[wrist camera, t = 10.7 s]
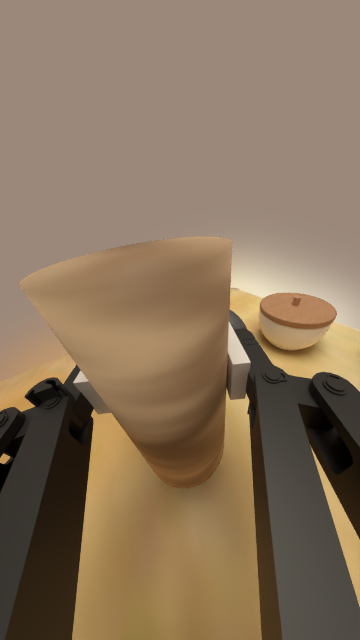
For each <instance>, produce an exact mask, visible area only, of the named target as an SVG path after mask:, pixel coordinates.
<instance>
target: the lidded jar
mask: <svg viewBox="0 0 360 640" xmlns="http://www.w3.org/2000/svg"><path fill="white" fill-rule="evenodd" d="M336 315H337V313H336V310H335V308H334V307H333V306H332V305H331V304H329V303H328V302H326V301H324V300H322V299H320V298H316V297H314V296H310V295H305V294H298V293H277V294H272V295H269V296H267V297H265V298H263V299H262V301H261V303H260V312H259V326H260V329H261V332H262V333H263V335H264V336H265V337H266V339H267V340H268V341H269V342H270V343H271V344H272V345H273V346H275V347H277V348H280V349H283V350H288V351H294V350H299V349H303V348H307V347H309V346H312V345H314V344H315V343H317V342H318V341H319V340H320V339H321V338H322V337H323V336H324V335H325V333H326V332H327V331H328V329H329V327H330V325H331V323H332V322H333V321H334V319H335V318H336Z"/></svg>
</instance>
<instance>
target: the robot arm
mask: <svg viewBox="0 0 360 640" xmlns="http://www.w3.org/2000/svg"><path fill="white" fill-rule="evenodd" d="M226 387H227V390H228V394H229V397H230V400H234V399H244V398H245V396H246V393H247V396H248V398H249V401H250V402H249V407H248V413H247V414H249V418H250V436H251V454H252V471H253V489H254V507H255V524H256V542H257V560H258V578H259V595H260V613H261V631H262V640H360V607H359V604H358V601H357V597H356V594H355V591H354V587H353V584H352V581H351V578H350V574H349V571H348V568H347V565H346V561H345V558H344V555H343V551H342V548H341V545H340V542H339V538H338V535H337V532H336V528H335V525H334V522H333V519H332V515H331V512H330V509H329V506H328V502H327V499H326V496H325V492H324V489H323V486H322V483H321V479H320V476H319V473H318V469H317V466H316V463H315V460H314V456H313V453H312V450H311V447H312V449H313V451H314V453H315V455H316V457H317V459H318V461H319V463H320V464H321V466H322V468H323V470H324V472H325V474H326V476H327V478H328V480H329V482H330V483H331V485H332V487H333V489H334V491H335V493H336V495H337V497H338V499H339V501H340V503H341V504H342V506H343V508H344V510H345V512H346V514H347V516H348V518H349V520H350V522H351V524H352V525H353V527H354V529H355V531H356V533H357V535H358V537H359V539H360V392H359V391H358V390H357V389H356V388H355V387H354V386H353V385H352V384H351V383H350V382H349V381H347V380H346V379H344V378H342V377H340V376H338V375H335V374H332V373H327V372H320V373H316V374H315V375H314V376H313V378H312V379H309V378H302V377H296V376H291V375H288V374H287V373H285V372H284V371H283V370H282V369H280V368H278V367H276V366H274V365H273V364H272V363H271V361H270V360H269V358H268V357H267V355H266V354H265V352H264V351H263V349H262V348H261V346H260V345H259V343H258V342H257V340H255V337H254V336H253V334H252V333H251V332H250V331H248V330H247V329H245V328H240V329H233V328H232V326H231V324H230V322H229V332H228V357H227V382H226ZM25 398H26V399H28V400H29V401H30V402H31V403H32V404H33V405H35V406H36V407H33V408H31V409H28V410H25V411H23V412H21V411H19V410H18V409H17V408H15V407H10V408H7V409H4V410H2V411H0V457H1V456H2V454H3V453H4V454H6V455H8V456H10V459H9V460H8V461H7V462H6V463H5V464H2V463H0V640H72V632H73V622H74V612H75V602H76V592H77V582H78V572H79V562H80V552H81V542H82V532H83V522H84V512H85V502H86V491H87V481H88V471H89V461H90V451H91V441H92V431H93V418H92V417H91V413H92V411H93V409H95V411H96V412H97V413H98V414H102V413H111V411H110V410H109V408H108V407H107V406H106V404H105V403H104V402H103V400H102V399H101V397H100V396H99V395H98V393H97V392H96V391H95V389H94V388H93V386H92V385H91V384H90V382H89V381H88V380H87V378H86V377H85V375H84V374H83V373H82V371H81V370H80V368H79V367H78V366H77V365H76V366H75V368H74V369H73V371H72V372H71V374H70V375H69V377H68V378H67V380H66V381H65V383H64V384H62V383H61V382H60V381H59V379H58V378H54V377H53V378H48V379H45V380H43V381H41V382H39V383H38V384H36V385H35V386H34V387H33V388H31V389H30V390H29V391H28V393H27V394H26V395H25ZM310 445H311V447H310Z"/></svg>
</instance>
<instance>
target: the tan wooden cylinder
mask: <svg viewBox="0 0 360 640" xmlns="http://www.w3.org/2000/svg"><path fill="white" fill-rule="evenodd" d="M231 257H232V242H231V241H230V240H229V239H226V238H221V237H211V236H210V237H209V236H199V237H182V238H172V239H163V240H157V241H149V242H143V243H137V244H132V245H126V246H121V247H116V248H112V249H107V250H103V251H99V252H94V253H90V254H87V255H83V256H79V257H76V258H72V259H69V260H66V261H62V262H60V263H57V264H54V265H51V266H48V267H45V268H43V269H41V270H38V271H36V272H34V273H32V274H30V275H28V276H27V277H25V278H24V279H23V280H22V281H21V282H20V287H21V288H22V290H23V291H24V293H25V294H26V295H27V297H28V298H29V300H30V301H31V302H32V304H33V305H34V306H35V308H36V309H37V310H38V312H39V313H40V315H41V316H42V317H43V319H44V320H45V321H46V323H47V324H48V326H49V327H50V328H51V330H52V331H53V333H54V334H55V335H56V337H57V338H58V339H59V341H60V342H61V344H62V345H63V346H64V348H65V349H66V351H67V352H68V353H69V355H70V356H71V357H72V359H73V360H74V362H75V363H76V364H77V366H78V367H79V368H80V370H81V371H82V373H83V374H84V375H85V377H86V378H87V380H88V381H89V382H90V384H91V385H92V386H93V388H94V389H95V391H96V392H97V393H98V395H99V396H100V397H101V399H102V400H103V402H104V403H105V404H106V406H107V407H108V408H109V410H110V411H111V413H112V414H113V415H114V417H115V418H116V420H117V421H118V422H119V424H120V425H121V426H122V428H123V429H124V431H125V432H126V433H127V435H128V436H129V437H130V439H131V440H132V442H133V443H134V444H135V446H136V447H137V448H138V450H139V451H140V453H141V454H142V455H143V457H144V458H145V460H146V461H147V462H148V464H149V465H150V466H151V468H152V469H153V471H154V472H155V473H156V474H157V476H158V477H159V478H160V479H162V480H163V481H164V482H166V483H167V484H169V485H172V486H174V487H179V488H189V487H194V486H196V485H199V484H201V483H202V482H204V481H205V480H207V479H208V478H209V477H210V476H211V475H212V474H213V472H214V471H215V470H216V468H217V466H218V464H219V462H220V460H221V457H222V454H223V448H224V431H225V406H226V382H227V357H228V332H229V308H230V282H231Z"/></svg>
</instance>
